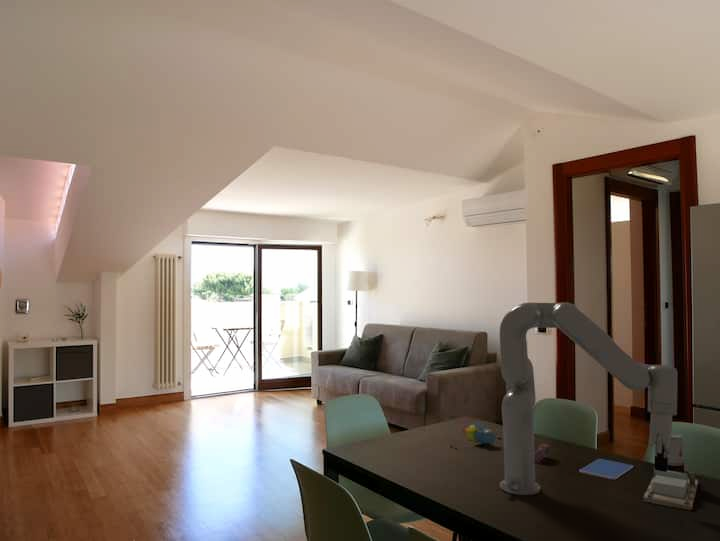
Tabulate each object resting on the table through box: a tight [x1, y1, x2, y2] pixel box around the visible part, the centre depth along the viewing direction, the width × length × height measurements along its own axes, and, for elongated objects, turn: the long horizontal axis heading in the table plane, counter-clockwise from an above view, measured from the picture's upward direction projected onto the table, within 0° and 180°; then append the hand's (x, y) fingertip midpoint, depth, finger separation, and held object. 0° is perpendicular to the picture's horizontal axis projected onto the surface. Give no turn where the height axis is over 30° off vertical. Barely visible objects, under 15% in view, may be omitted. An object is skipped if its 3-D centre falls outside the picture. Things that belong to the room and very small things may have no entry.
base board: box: [642, 466, 699, 511], centre depth 170 cm, size 27×12×5 cm, turn 145°
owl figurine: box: [460, 422, 498, 445], centre depth 228 cm, size 28×9×15 cm
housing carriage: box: [653, 470, 689, 498], centre depth 168 cm, size 10×8×5 cm
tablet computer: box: [579, 458, 634, 481], centre depth 193 cm, size 19×13×1 cm, turn 136°
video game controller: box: [534, 443, 552, 462], centre depth 205 cm, size 10×5×7 cm, turn 144°
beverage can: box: [667, 432, 685, 473], centre depth 176 cm, size 7×6×15 cm
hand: (661, 470), depth 159 cm, fingers closed
